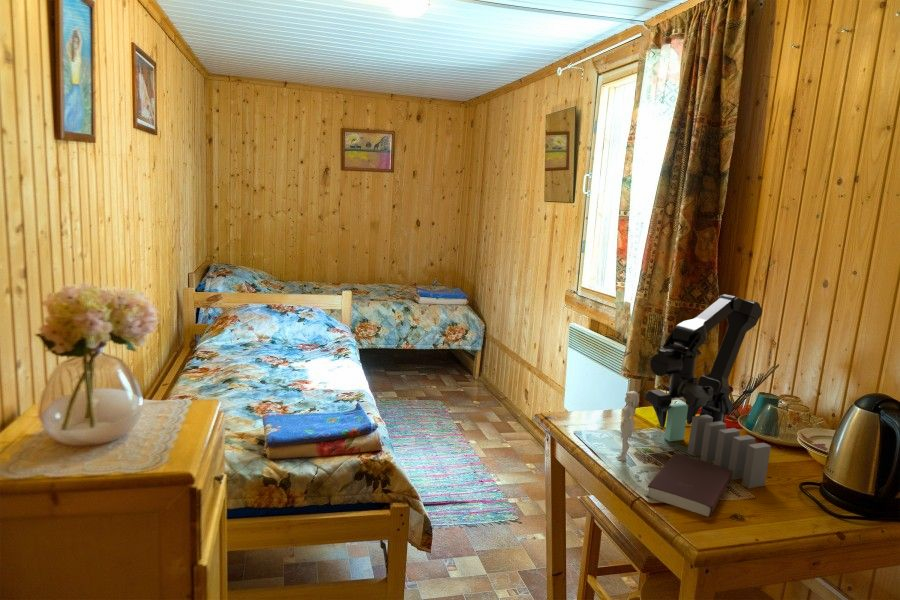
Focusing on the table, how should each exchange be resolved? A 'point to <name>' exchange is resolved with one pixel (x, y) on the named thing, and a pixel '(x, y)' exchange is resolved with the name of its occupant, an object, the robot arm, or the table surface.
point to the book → (690, 484)
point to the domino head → (676, 422)
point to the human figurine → (628, 422)
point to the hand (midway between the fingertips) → (675, 425)
